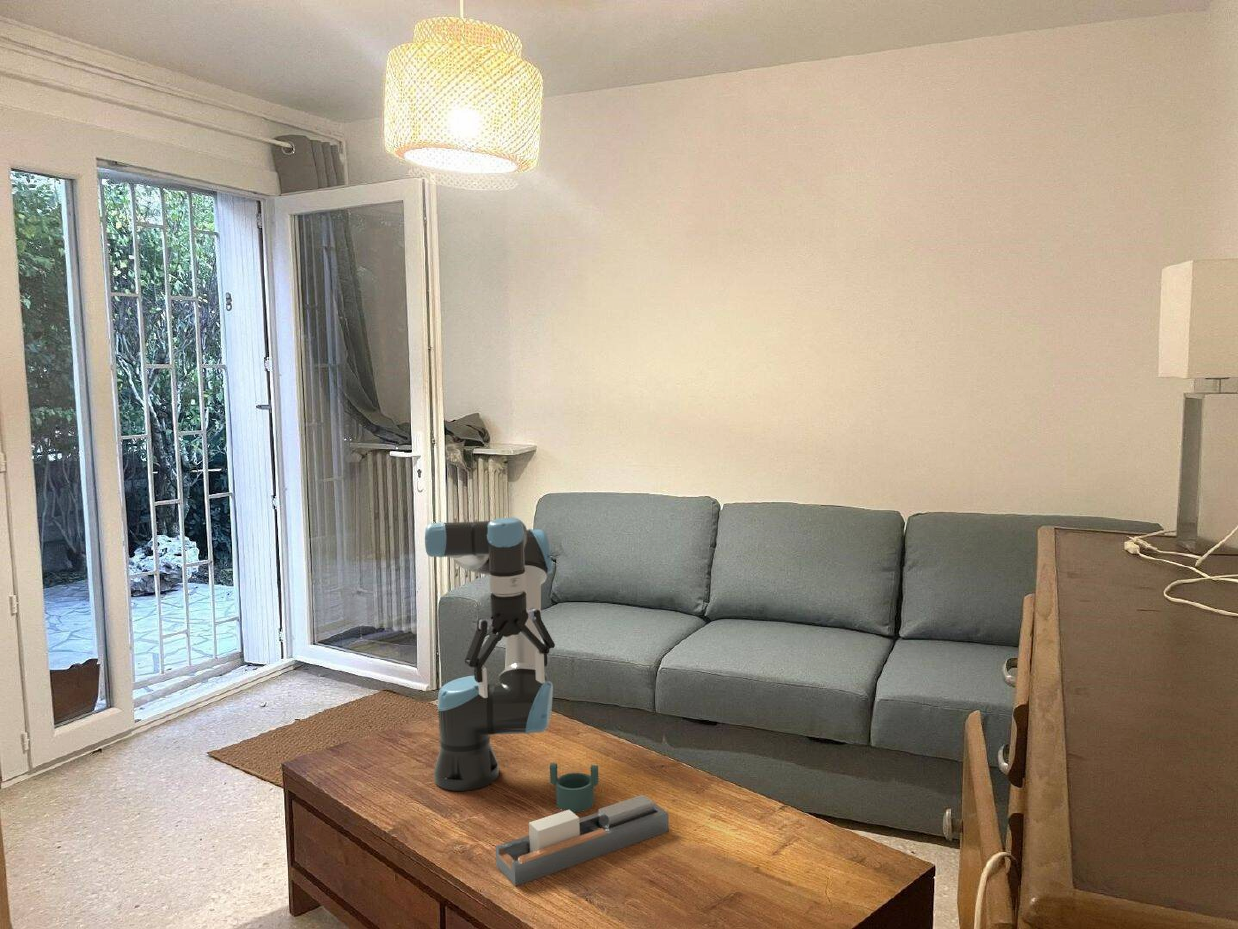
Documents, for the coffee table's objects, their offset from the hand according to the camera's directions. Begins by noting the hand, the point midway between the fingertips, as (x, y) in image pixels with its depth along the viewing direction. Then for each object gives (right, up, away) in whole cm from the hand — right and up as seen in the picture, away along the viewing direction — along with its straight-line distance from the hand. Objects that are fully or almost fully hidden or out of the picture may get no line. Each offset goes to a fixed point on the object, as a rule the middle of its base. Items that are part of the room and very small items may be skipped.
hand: (512, 688), depth 193 cm
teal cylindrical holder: (+13, -27, +7) cm, 31 cm away
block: (+10, -29, -16) cm, 35 cm away
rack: (+16, -29, -13) cm, 35 cm away
